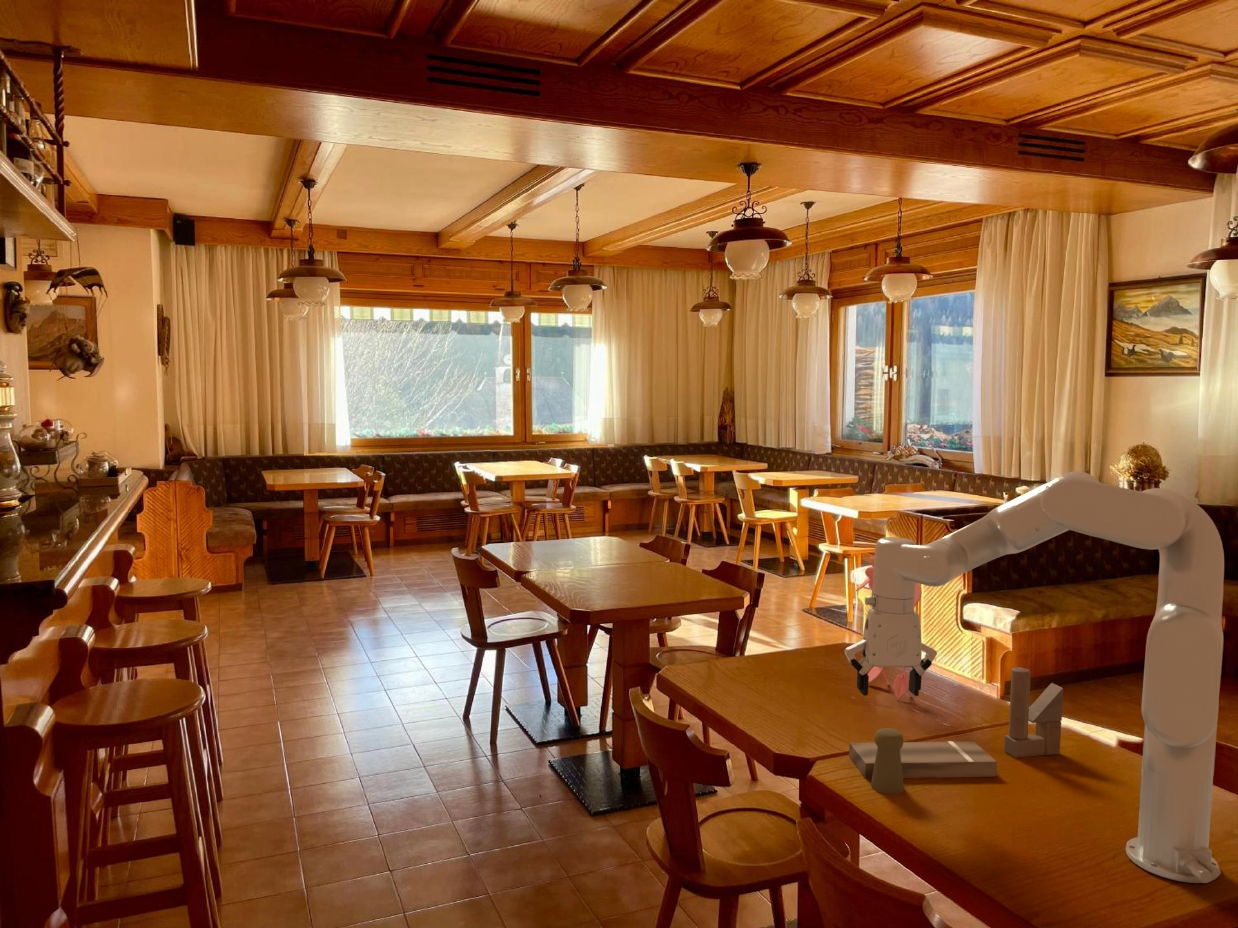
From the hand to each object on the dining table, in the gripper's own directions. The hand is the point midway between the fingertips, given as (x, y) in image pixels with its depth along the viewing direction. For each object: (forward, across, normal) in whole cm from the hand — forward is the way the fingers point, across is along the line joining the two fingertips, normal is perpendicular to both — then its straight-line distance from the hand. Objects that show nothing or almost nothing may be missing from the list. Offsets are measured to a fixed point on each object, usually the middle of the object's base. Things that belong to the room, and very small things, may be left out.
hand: (888, 693), depth 166 cm
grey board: (+18, +11, +8) cm, 22 cm away
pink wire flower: (+19, +17, +51) cm, 57 cm away
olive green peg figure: (+18, +1, 0) cm, 18 cm away
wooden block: (+18, +37, +14) cm, 43 cm away
